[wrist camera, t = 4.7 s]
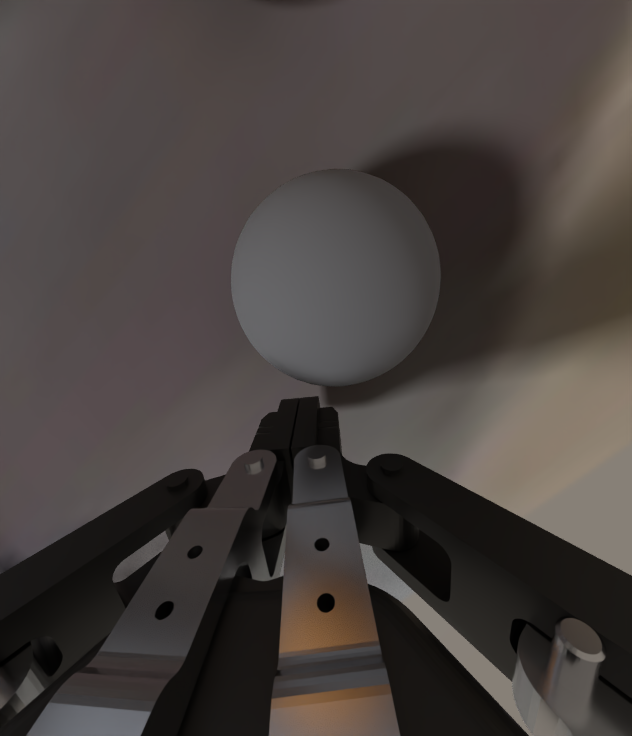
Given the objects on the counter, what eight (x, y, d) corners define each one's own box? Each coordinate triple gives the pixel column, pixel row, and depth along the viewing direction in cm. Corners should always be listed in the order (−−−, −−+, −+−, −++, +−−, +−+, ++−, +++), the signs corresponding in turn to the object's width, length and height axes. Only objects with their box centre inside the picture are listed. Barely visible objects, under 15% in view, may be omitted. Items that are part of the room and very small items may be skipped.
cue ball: (196, 408, 8) (192, 252, 11) (356, 427, 11) (319, 309, 14) (383, 209, 4) (298, 64, 7) (521, 333, 8) (427, 204, 11)
